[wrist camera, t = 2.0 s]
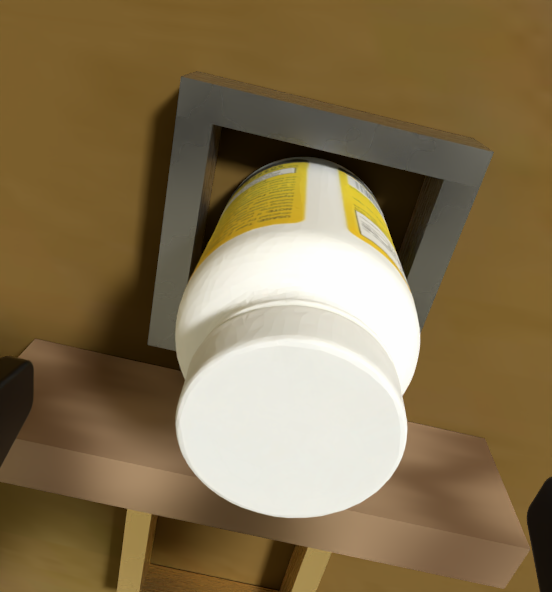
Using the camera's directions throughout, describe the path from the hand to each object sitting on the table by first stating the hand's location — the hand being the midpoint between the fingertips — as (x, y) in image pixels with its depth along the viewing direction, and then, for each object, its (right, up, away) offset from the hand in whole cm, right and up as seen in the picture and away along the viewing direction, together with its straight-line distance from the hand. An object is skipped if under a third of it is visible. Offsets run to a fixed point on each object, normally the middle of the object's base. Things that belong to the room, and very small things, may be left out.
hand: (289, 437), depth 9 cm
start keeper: (+1, +4, +9) cm, 10 cm away
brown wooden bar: (-1, -2, +12) cm, 12 cm away
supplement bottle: (+1, +5, +9) cm, 10 cm away
